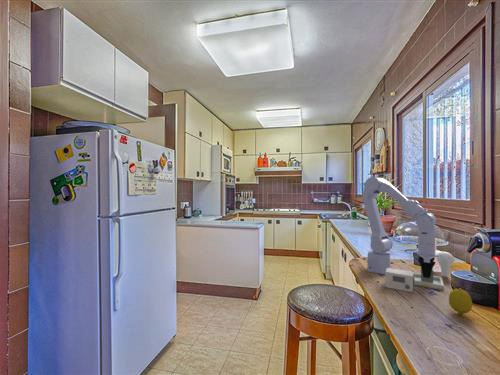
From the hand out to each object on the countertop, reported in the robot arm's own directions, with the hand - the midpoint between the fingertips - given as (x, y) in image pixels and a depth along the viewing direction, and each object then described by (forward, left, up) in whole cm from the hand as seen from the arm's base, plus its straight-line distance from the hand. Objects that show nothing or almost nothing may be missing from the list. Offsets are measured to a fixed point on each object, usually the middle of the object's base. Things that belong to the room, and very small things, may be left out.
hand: (426, 275), depth 102 cm
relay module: (0, 0, -2) cm, 2 cm away
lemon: (+8, -25, -3) cm, 26 cm away
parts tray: (0, 0, -3) cm, 3 cm away
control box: (-9, -11, -3) cm, 15 cm away
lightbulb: (+7, +13, -3) cm, 15 cm away
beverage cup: (+4, +21, -3) cm, 22 cm away
